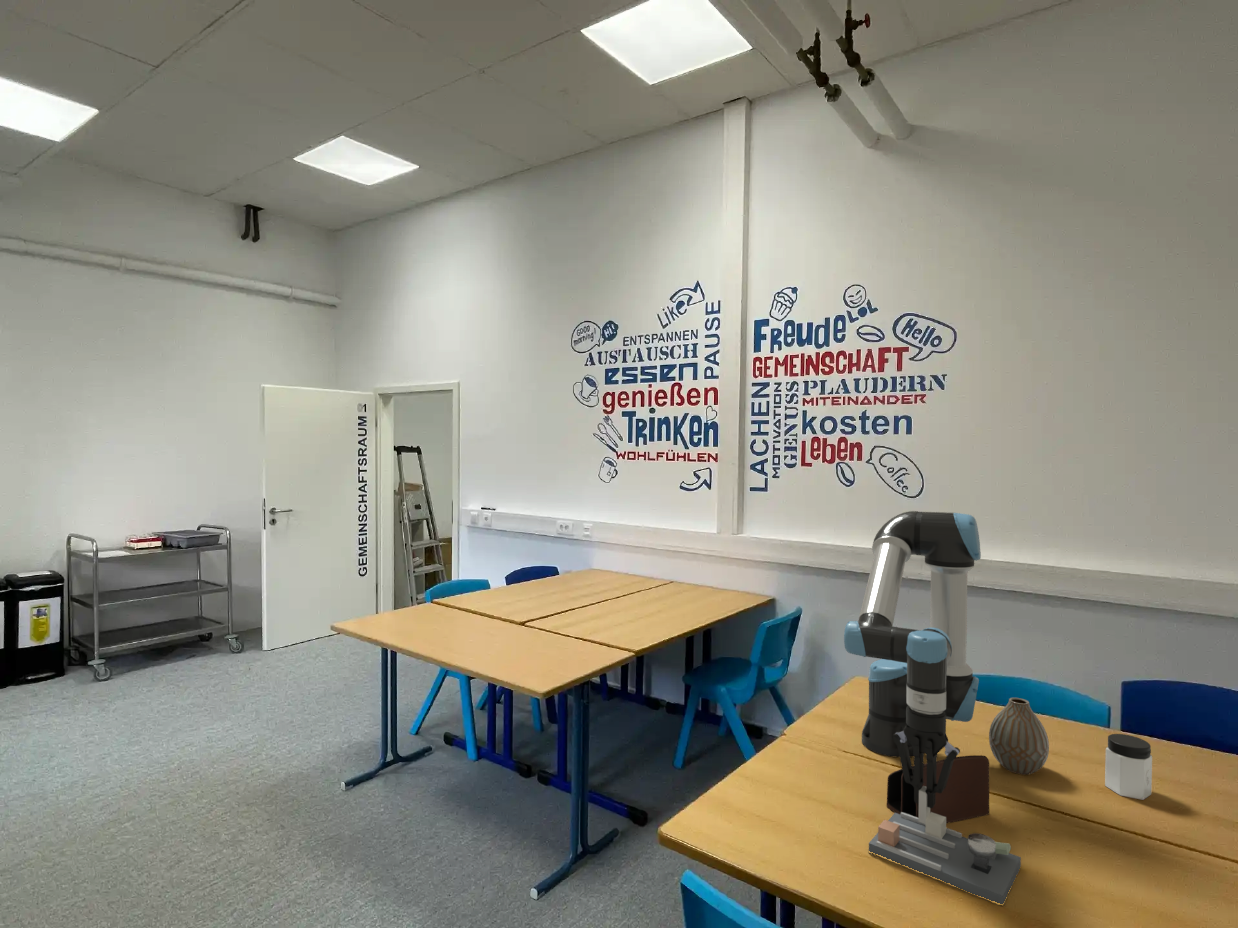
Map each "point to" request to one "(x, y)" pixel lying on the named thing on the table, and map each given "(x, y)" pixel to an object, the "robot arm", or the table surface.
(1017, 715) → the vase
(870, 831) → the table surface
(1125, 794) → the jar
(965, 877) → the panel
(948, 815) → the letter holder
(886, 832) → the slider terracotta
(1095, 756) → the table surface
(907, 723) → the robot arm
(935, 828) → the slider ivory
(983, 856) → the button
